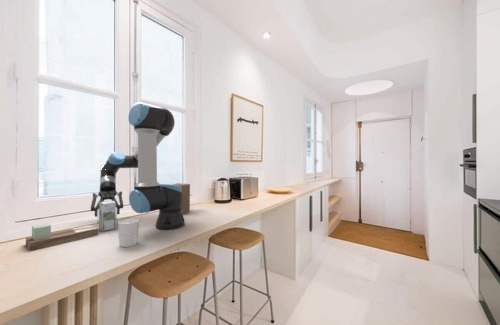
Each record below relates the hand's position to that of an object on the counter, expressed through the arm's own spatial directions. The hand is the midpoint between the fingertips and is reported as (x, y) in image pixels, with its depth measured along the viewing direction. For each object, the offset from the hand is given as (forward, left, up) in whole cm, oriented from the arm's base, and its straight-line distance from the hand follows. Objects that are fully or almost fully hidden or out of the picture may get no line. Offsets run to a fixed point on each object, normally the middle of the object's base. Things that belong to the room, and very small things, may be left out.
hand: (107, 220), depth 107 cm
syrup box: (+3, -1, -6) cm, 7 cm away
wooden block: (+3, -45, -6) cm, 46 cm away
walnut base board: (+2, +16, -6) cm, 17 cm away
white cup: (-26, +1, -6) cm, 26 cm away
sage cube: (+2, +24, -3) cm, 24 cm away
